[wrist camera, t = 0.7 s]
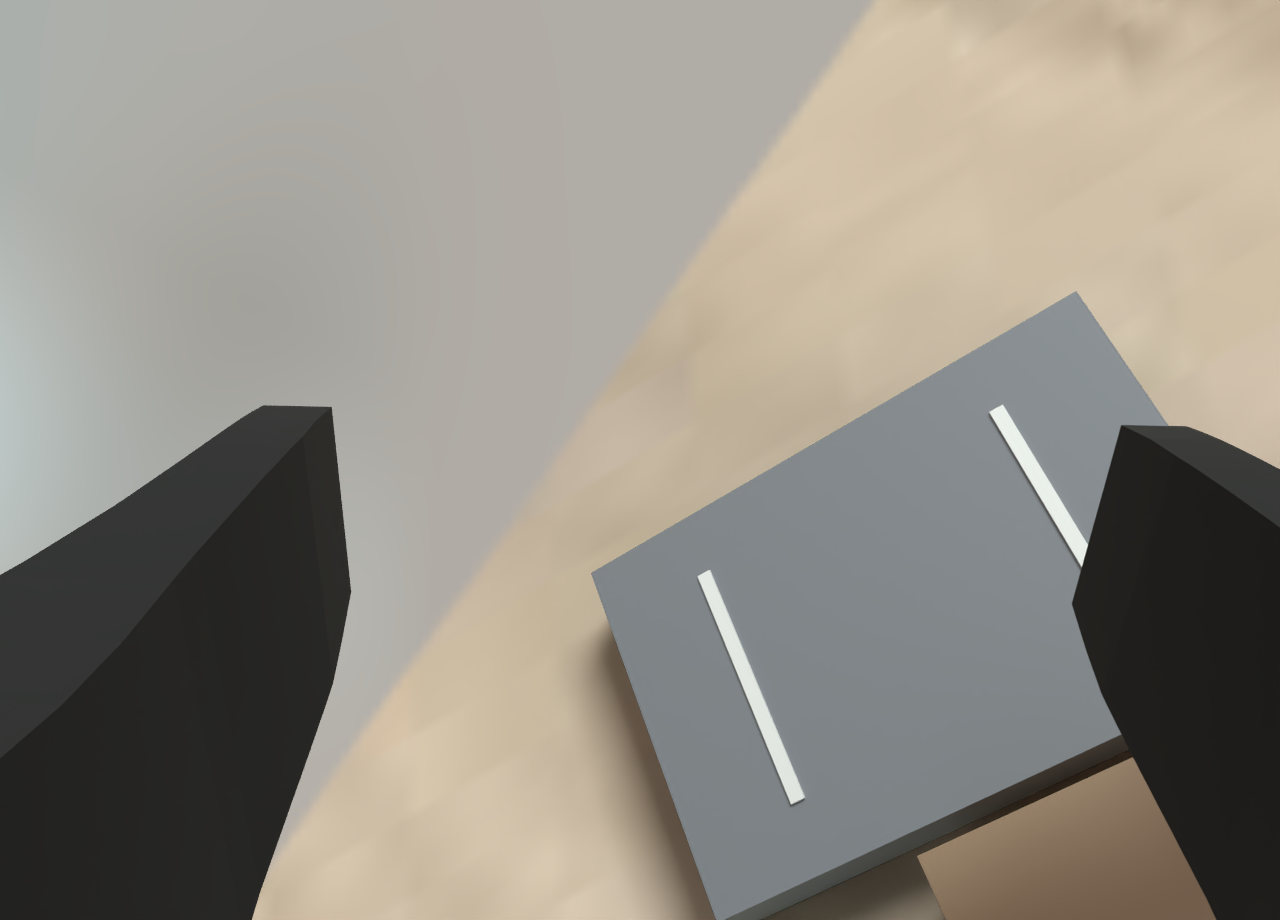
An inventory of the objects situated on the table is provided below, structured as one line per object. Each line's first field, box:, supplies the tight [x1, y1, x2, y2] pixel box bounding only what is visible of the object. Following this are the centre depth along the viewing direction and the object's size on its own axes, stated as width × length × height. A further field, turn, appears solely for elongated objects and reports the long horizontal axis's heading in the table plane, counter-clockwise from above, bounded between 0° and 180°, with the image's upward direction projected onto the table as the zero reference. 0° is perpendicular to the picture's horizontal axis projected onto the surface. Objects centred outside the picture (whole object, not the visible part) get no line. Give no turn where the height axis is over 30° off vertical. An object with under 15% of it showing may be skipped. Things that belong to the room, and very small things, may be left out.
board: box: [591, 291, 1168, 920], centre depth 24 cm, size 8×12×2 cm, turn 112°
